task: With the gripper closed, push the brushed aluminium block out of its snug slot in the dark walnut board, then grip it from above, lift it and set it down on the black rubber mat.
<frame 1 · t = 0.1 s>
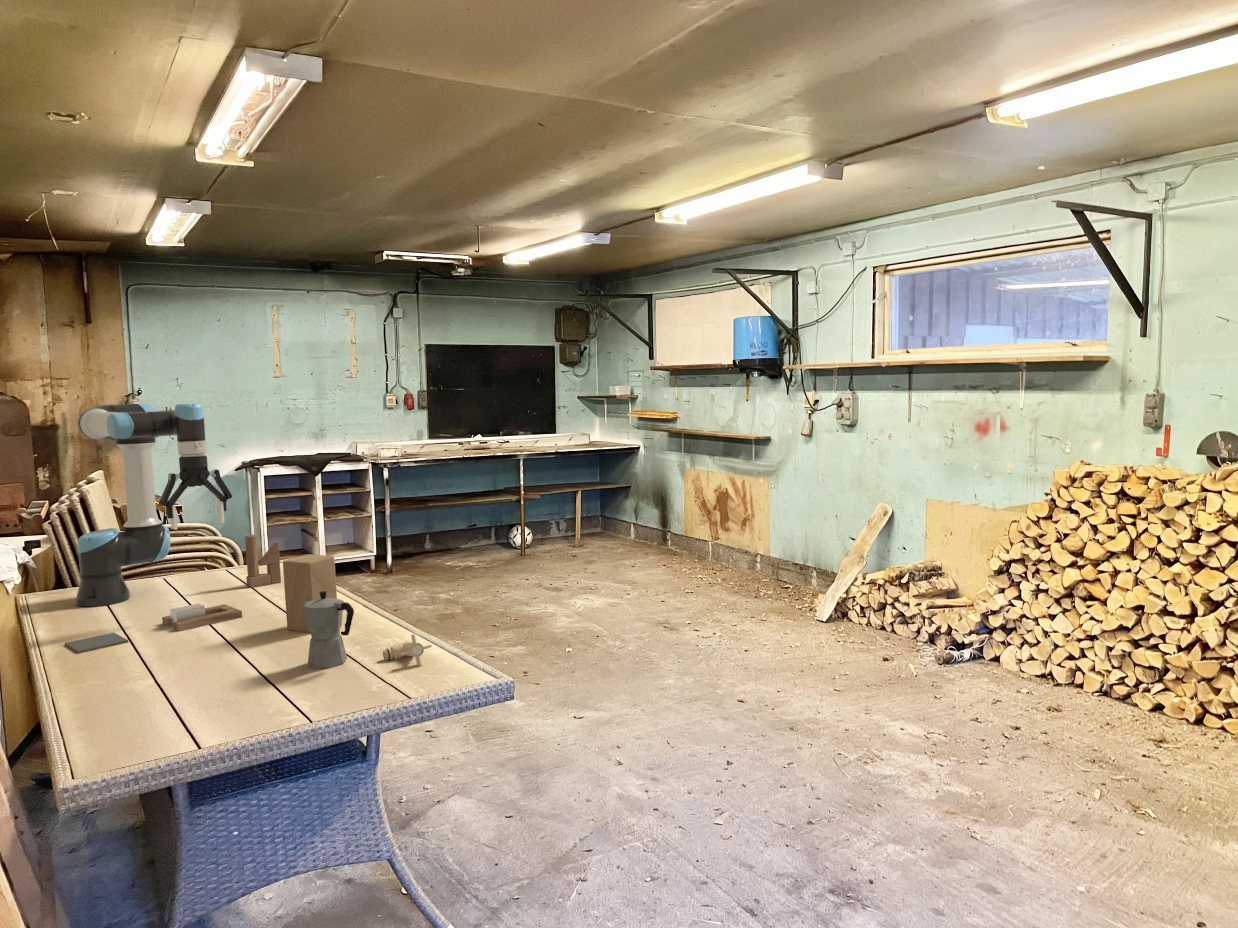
hand: (198, 525, 253), 28 cm above the table, tool pointing down, fingers open, 13 cm apart
coffeepot: (331, 663, 208), on the table
slot board: (202, 620, 251), on the table
valve: (406, 661, 208), on the table
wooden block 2: (264, 585, 296), on the table
rubber mat: (96, 643, 230), on the table
wooden block: (313, 627, 240), on the table
aluminium block: (188, 624, 248), on the table
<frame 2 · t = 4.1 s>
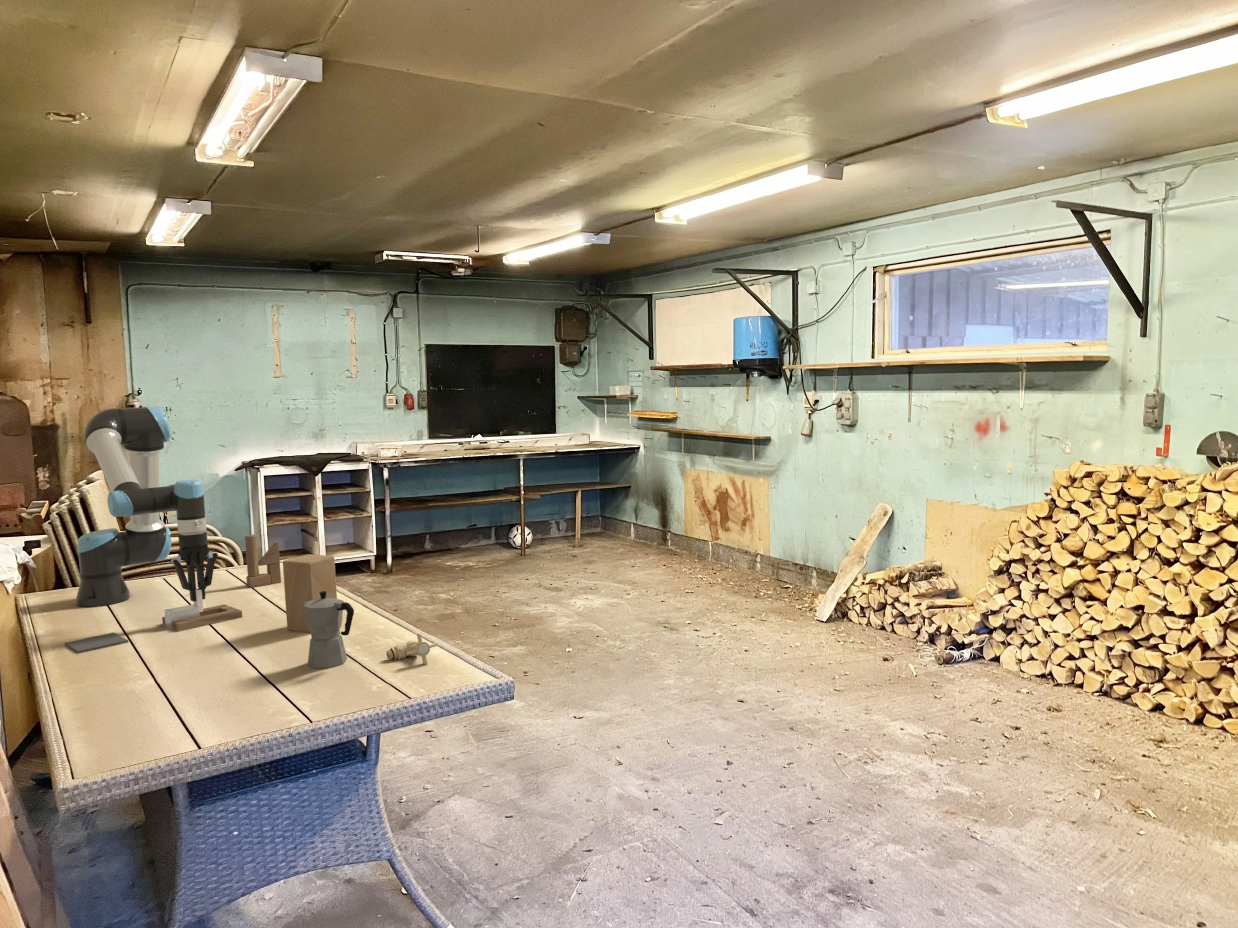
hand: (198, 610, 250), 3 cm above the table, tool pointing down, fingers closed
valve: (411, 660, 209), on the table
aluminium block: (183, 624, 247), on the table, touching gripper
everything else where it was.
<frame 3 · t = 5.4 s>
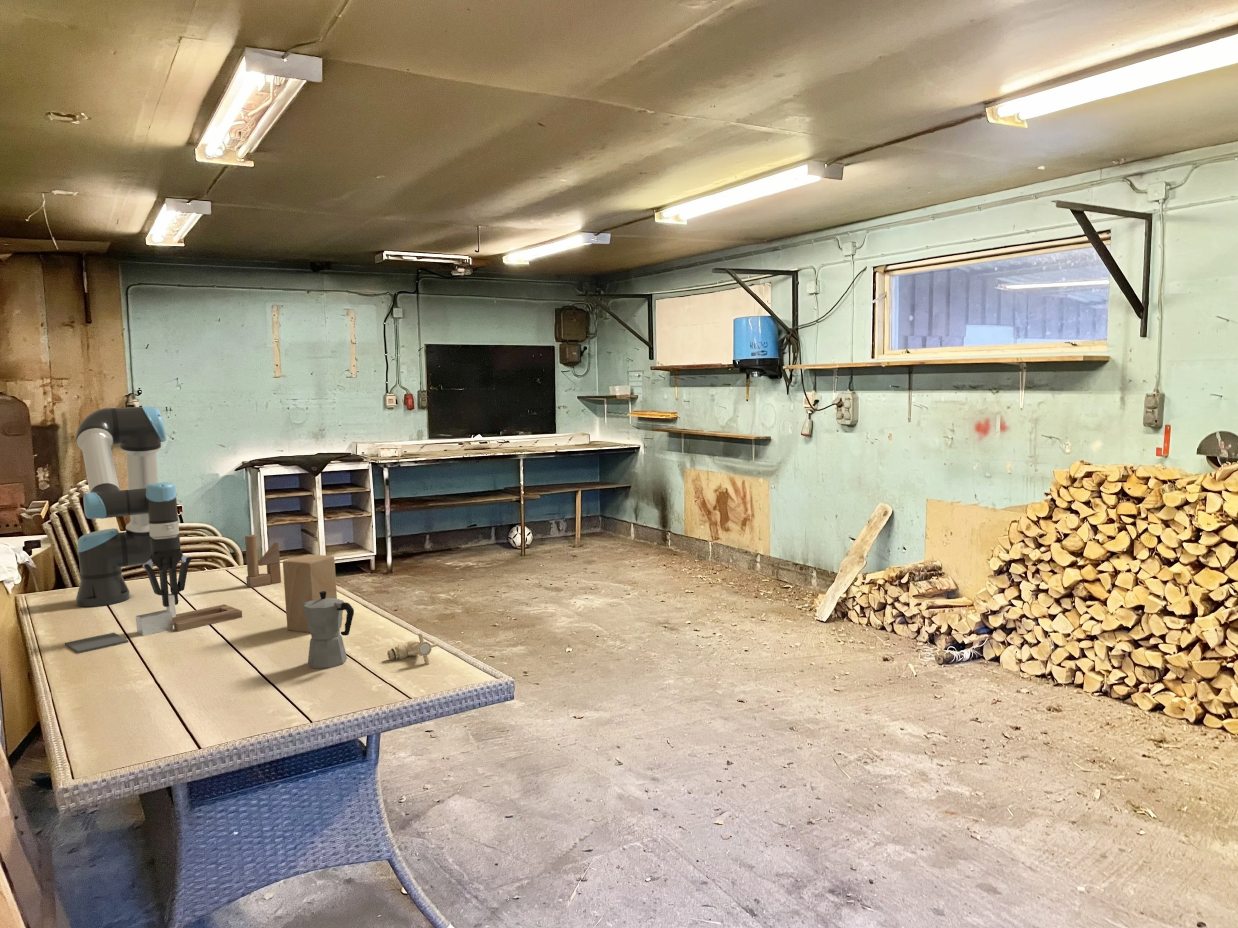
hand: (171, 616, 244), 3 cm above the table, tool pointing down, fingers closed
aluminium block: (155, 630, 241), on the table, touching gripper
everything else where it was.
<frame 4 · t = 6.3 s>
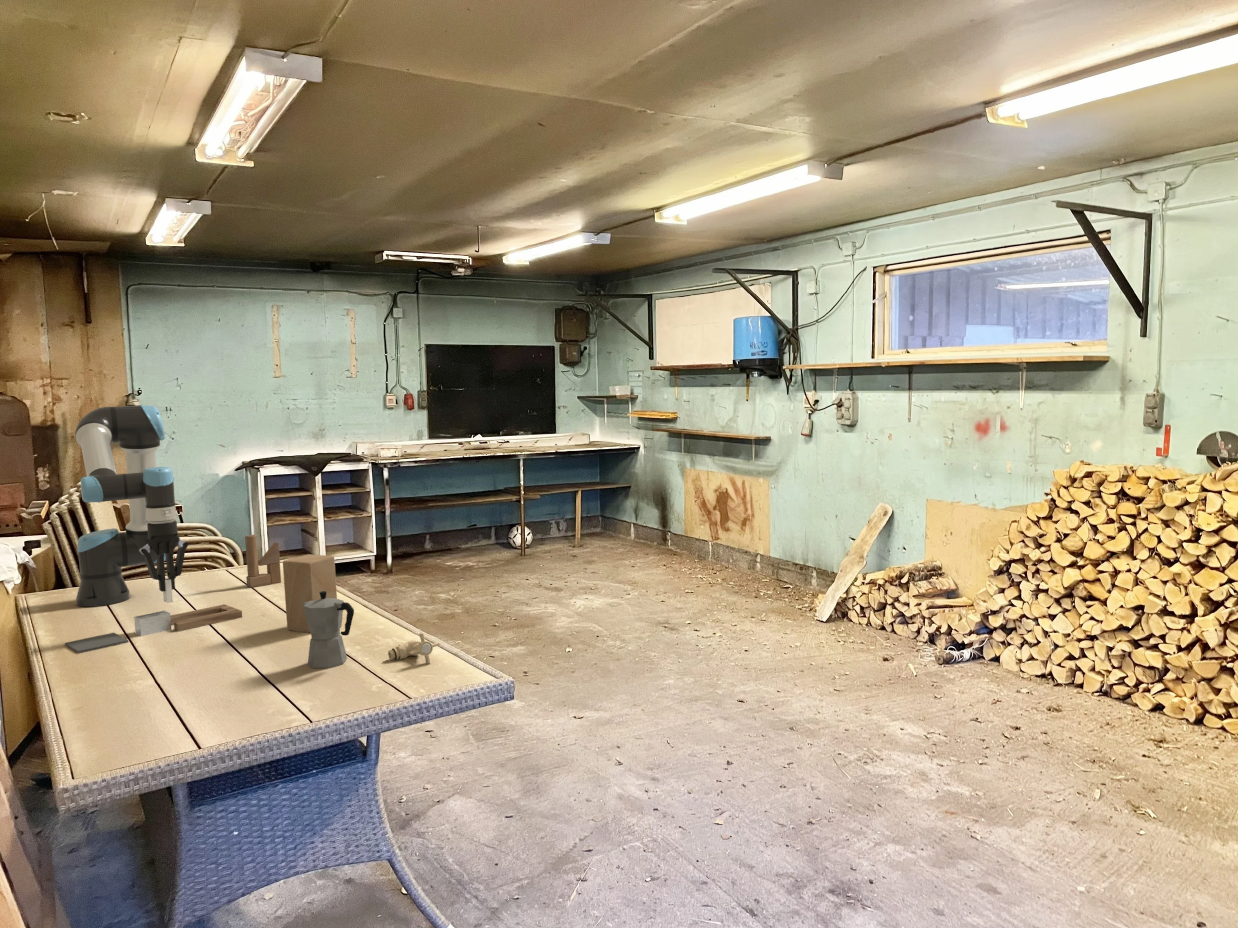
hand: (168, 601, 244), 8 cm above the table, tool pointing down, fingers closed
aluminium block: (153, 631, 241), on the table
everything else where it was.
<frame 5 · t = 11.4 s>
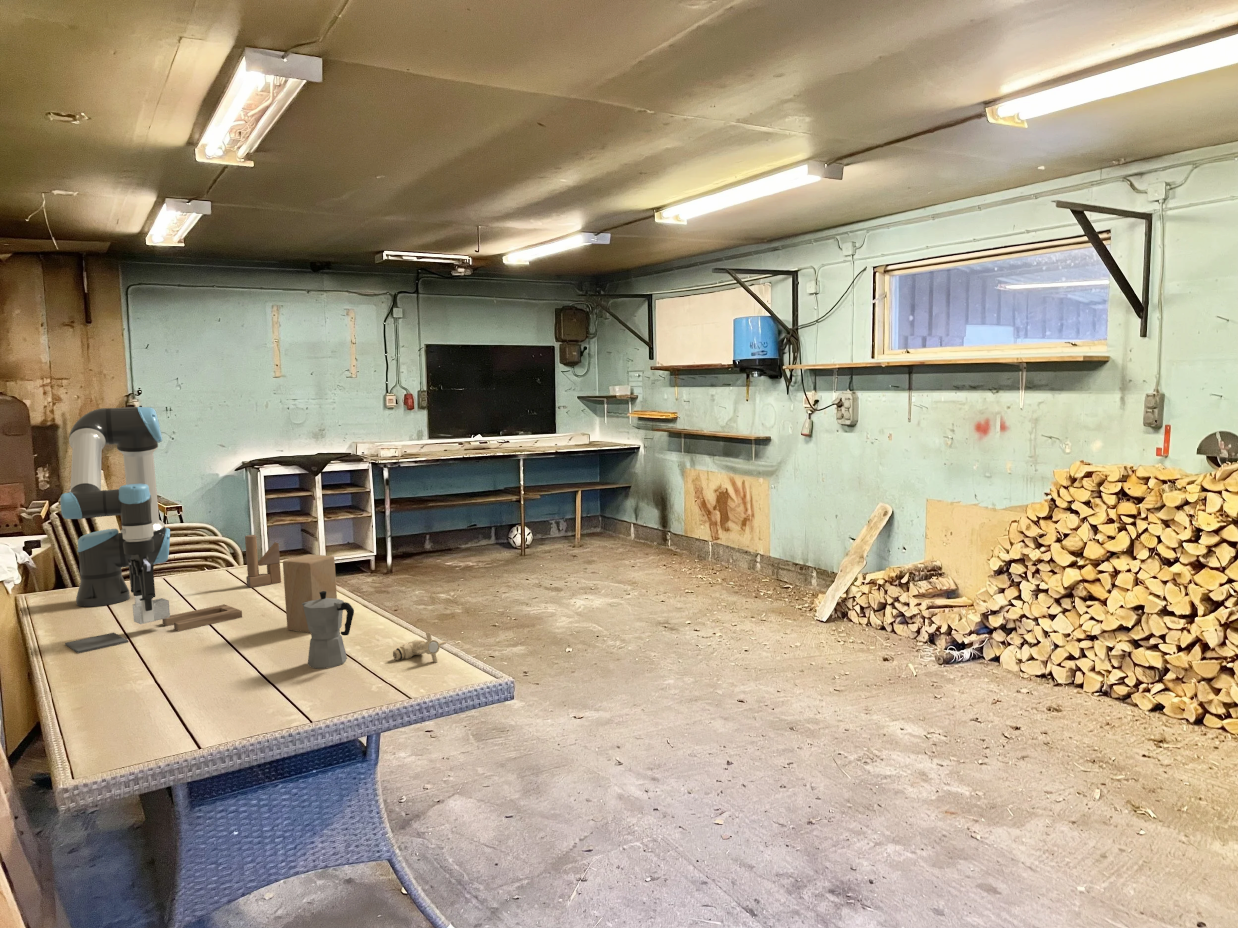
hand: (145, 619, 240), 4 cm above the table, tool pointing down, fingers closed on aluminium block, 5 cm apart
valve: (418, 659, 209), on the table
aluminium block: (152, 619, 241), point 3 cm above the table, touching gripper
everything else where it was.
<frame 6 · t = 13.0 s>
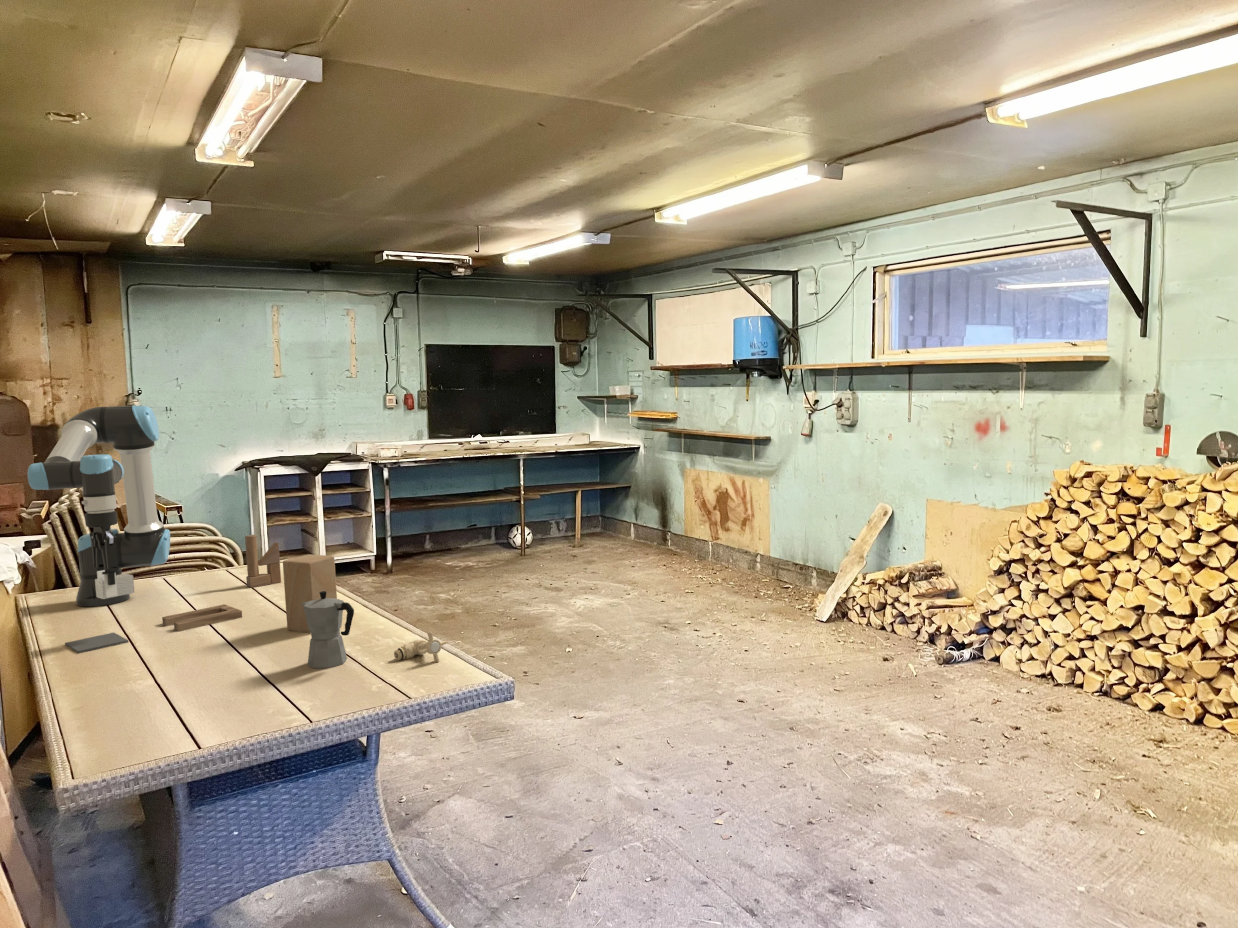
hand: (108, 594, 232), 13 cm above the table, tool pointing down, fingers closed on aluminium block, 5 cm apart
aluminium block: (115, 594, 233), point 12 cm above the table, touching gripper
when the fingers open (1 cm above the table, at t = 14.9 s): aluminium block stays where it is, resting on rubber mat.
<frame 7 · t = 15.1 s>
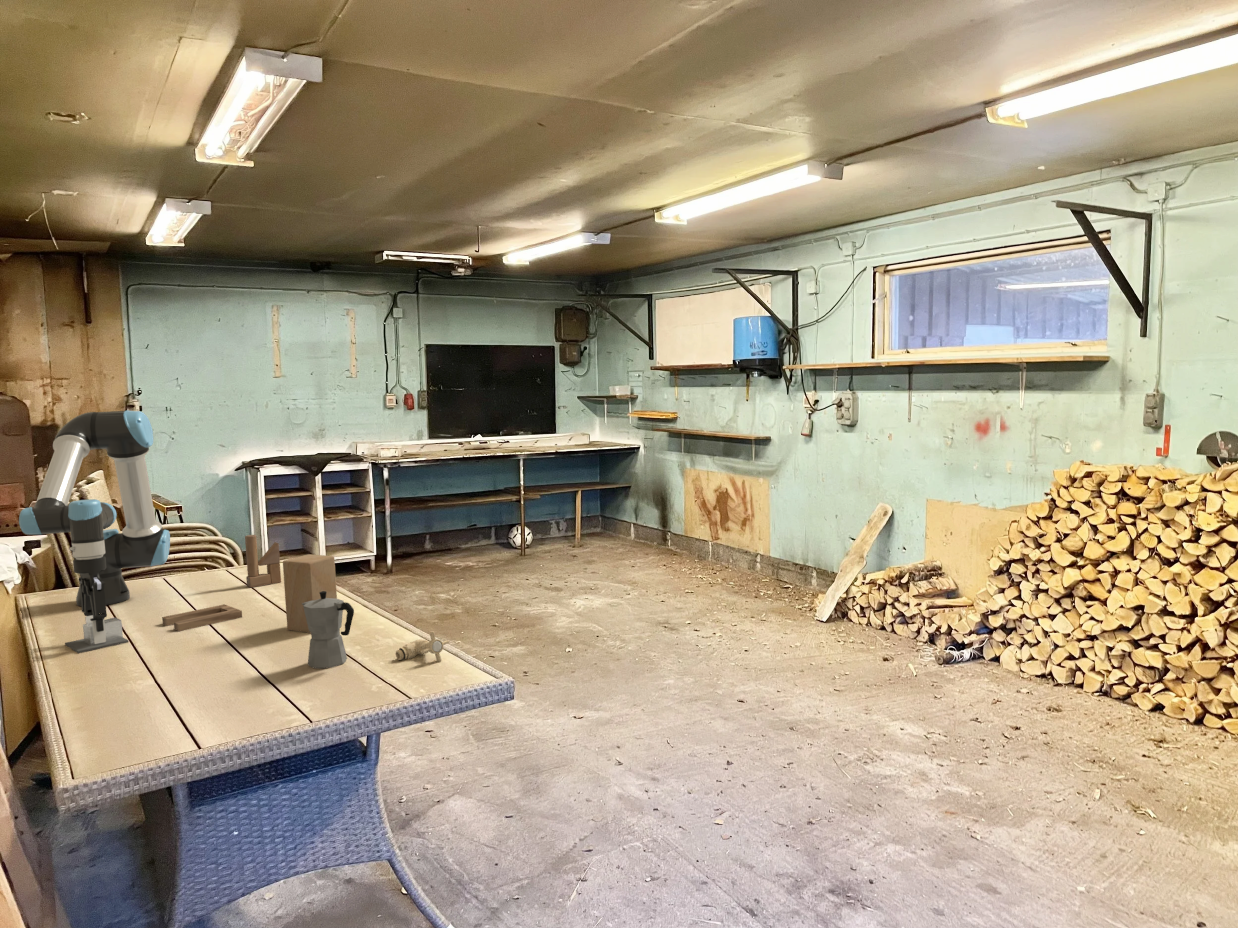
hand: (96, 640, 230), 1 cm above the table, tool pointing down, fingers open, 5 cm apart
aluminium block: (103, 639, 232), point 1 cm above the table, touching gripper, rubber mat
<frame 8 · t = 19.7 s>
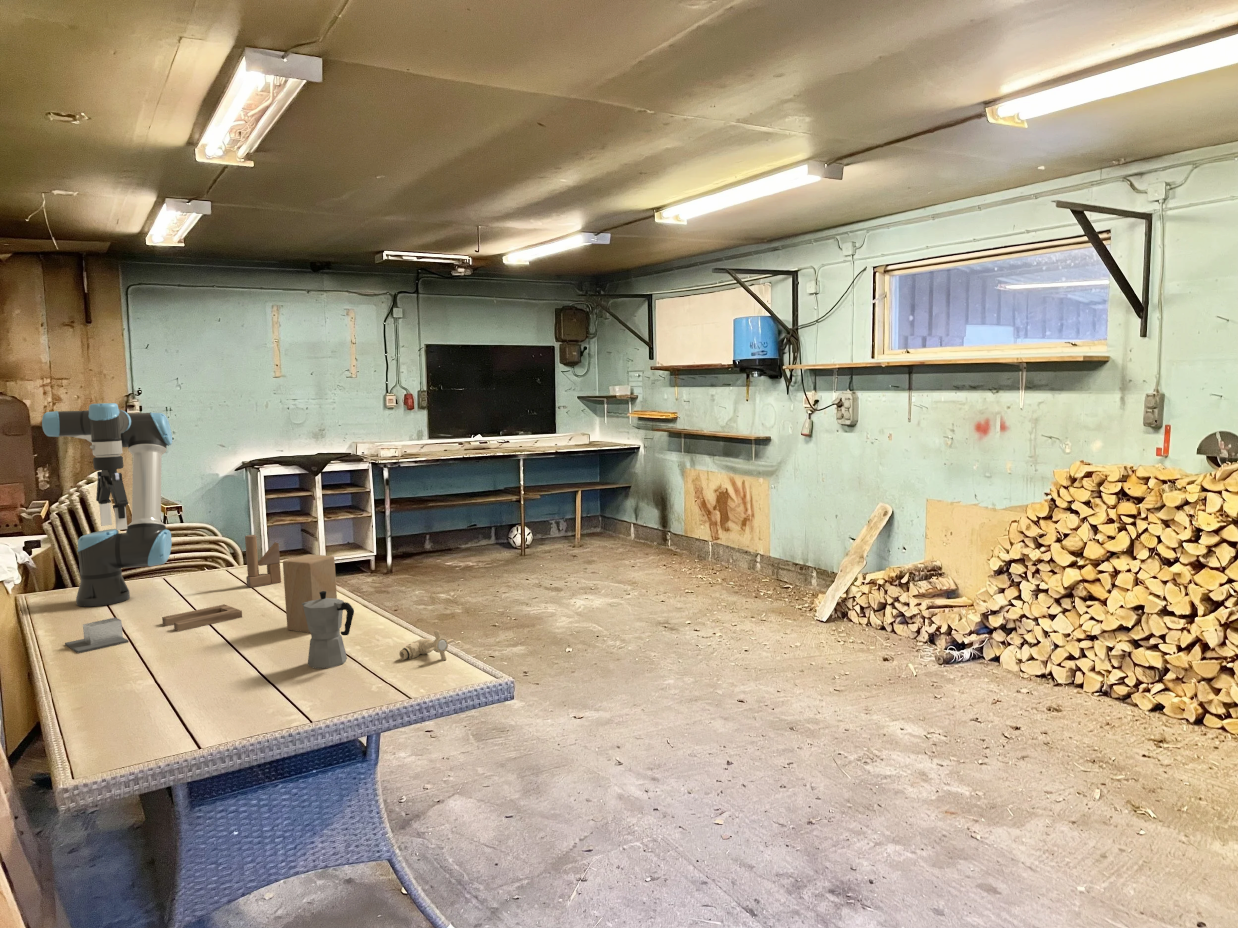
hand: (114, 527, 249), 29 cm above the table, tool pointing down, fingers open, 13 cm apart
aluminium block: (103, 639, 232), point 1 cm above the table, touching rubber mat
at the end: aluminium block inside the target area (1.8 cm from its centre), point 0.6 cm above the table; aluminium block tilted 0°; the gripper is holding nothing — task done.
